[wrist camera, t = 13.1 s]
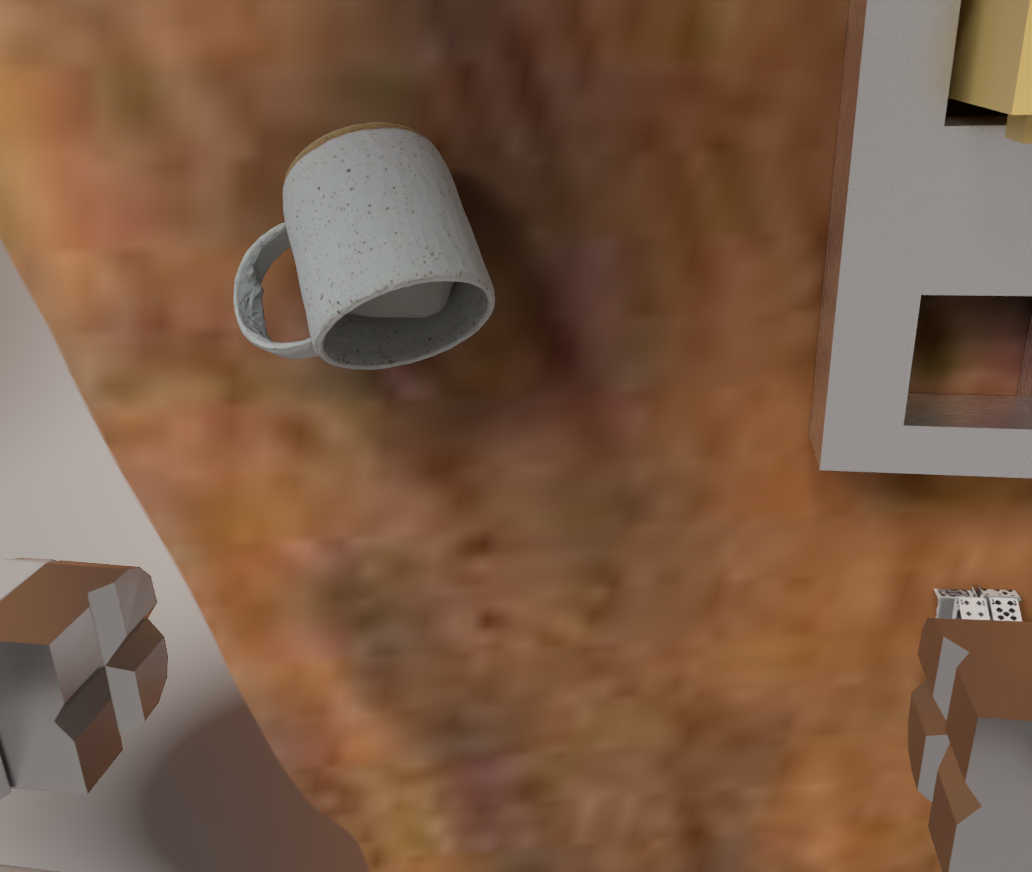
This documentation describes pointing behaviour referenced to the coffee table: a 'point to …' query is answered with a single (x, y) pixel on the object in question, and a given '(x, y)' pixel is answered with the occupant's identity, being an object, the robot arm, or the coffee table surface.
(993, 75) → the plug
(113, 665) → the robot arm
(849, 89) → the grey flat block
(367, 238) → the ceramic mug
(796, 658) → the coffee table surface
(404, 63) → the coffee table surface
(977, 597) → the house of cards
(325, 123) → the coffee table surface
